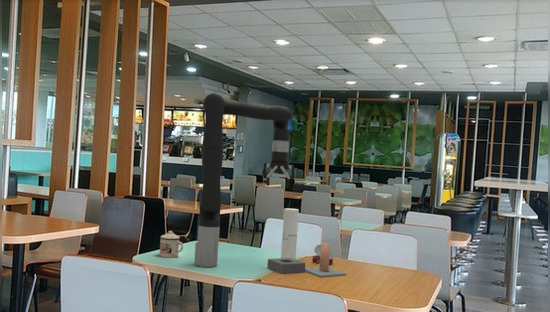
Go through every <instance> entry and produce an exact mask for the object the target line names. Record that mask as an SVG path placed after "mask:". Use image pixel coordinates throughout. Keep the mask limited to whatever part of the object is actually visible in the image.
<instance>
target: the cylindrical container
mask: <svg viewBox="0 0 550 312" xmlns="http://www.w3.org/2000/svg"><path fill="white" fill-rule="evenodd" d="M299 211H300V209H298V208H289V207H287V208H283V219H282V220H283V222H282V233H281V234H282V235H281V237H282V238H281V249H280V250H281V251H280V252H281V253H280V258H292V259H295V260H297V259H296V257H297V245H298V244H297V242H298V229H299V214H300V213H299Z"/></svg>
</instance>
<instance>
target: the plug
mask: <svg viewBox="0 0 550 312" xmlns="http://www.w3.org/2000/svg"><path fill="white" fill-rule="evenodd" d="M320 245H321V254H320V265H319V267H320V270H319V271H321V272H328V271H329V268H330V265H329V257H330V252H331V251H330V250H331V243H329V242H321V243H320Z"/></svg>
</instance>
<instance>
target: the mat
mask: <svg viewBox="0 0 550 312" xmlns="http://www.w3.org/2000/svg"><path fill="white" fill-rule="evenodd" d="M319 270H320V266H318V267H317V266H316V267H305V271H306V273H308V274H311V275H313V276H315V277H319V278H327V277H328V278H329V277H342V276H347V273H346V272H344V271H340V270H337V269H334V268H330V267H329V271H328V272H321V271H319Z"/></svg>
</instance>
